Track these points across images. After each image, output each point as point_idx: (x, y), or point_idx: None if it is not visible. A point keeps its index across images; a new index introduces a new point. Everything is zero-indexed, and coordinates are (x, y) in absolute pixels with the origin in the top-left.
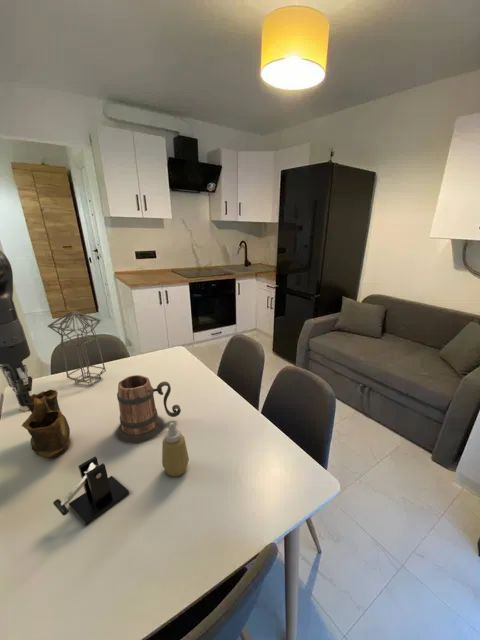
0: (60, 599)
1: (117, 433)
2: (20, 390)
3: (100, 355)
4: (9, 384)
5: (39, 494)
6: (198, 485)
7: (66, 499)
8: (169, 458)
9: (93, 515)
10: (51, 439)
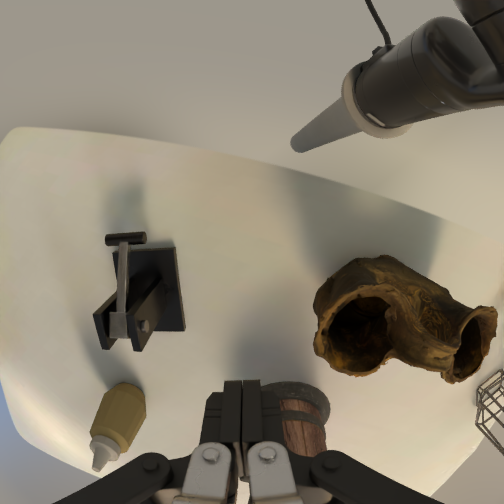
0: (43, 184)
1: (303, 387)
2: (94, 486)
3: (494, 443)
4: (332, 469)
5: (254, 219)
6: (84, 388)
7: (120, 254)
8: (101, 409)
9: (116, 268)
10: (323, 307)
